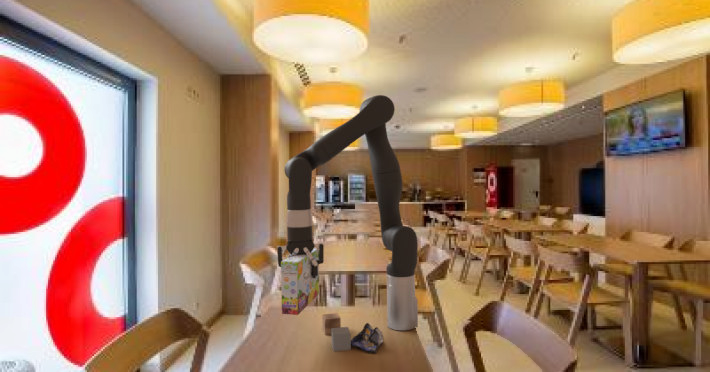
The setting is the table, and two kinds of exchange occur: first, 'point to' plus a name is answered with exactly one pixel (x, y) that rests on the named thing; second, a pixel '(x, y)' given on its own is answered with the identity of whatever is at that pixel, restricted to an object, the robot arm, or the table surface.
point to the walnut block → (330, 322)
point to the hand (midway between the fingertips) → (301, 278)
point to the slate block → (341, 339)
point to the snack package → (368, 339)
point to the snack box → (298, 283)
